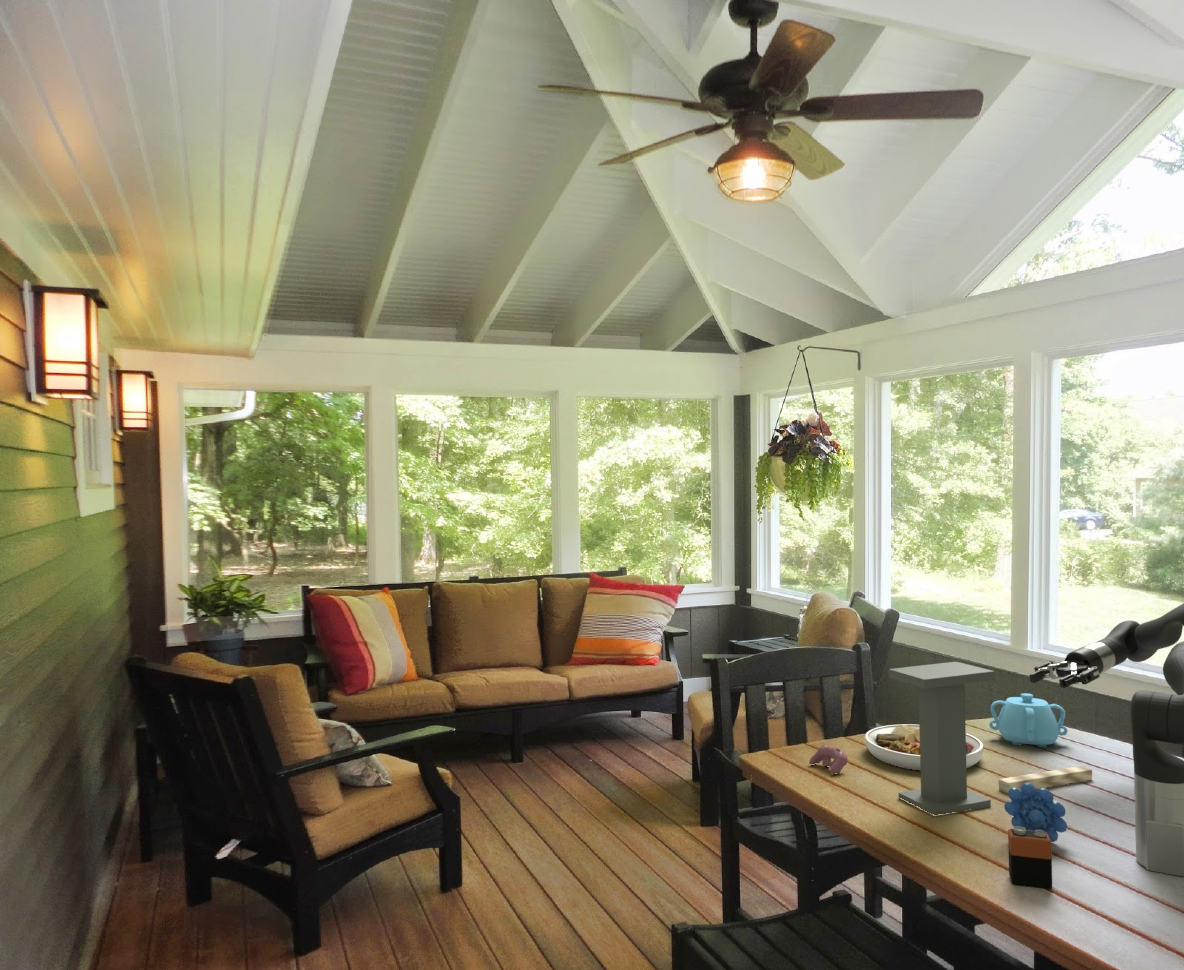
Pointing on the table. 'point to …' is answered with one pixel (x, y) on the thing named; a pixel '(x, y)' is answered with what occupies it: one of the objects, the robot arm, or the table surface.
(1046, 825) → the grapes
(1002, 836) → the table surface
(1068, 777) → the birch rod
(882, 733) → the bowl
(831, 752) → the video game controller
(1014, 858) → the battery
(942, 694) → the plant stand
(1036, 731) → the decorative pot
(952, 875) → the table surface
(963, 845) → the table surface
